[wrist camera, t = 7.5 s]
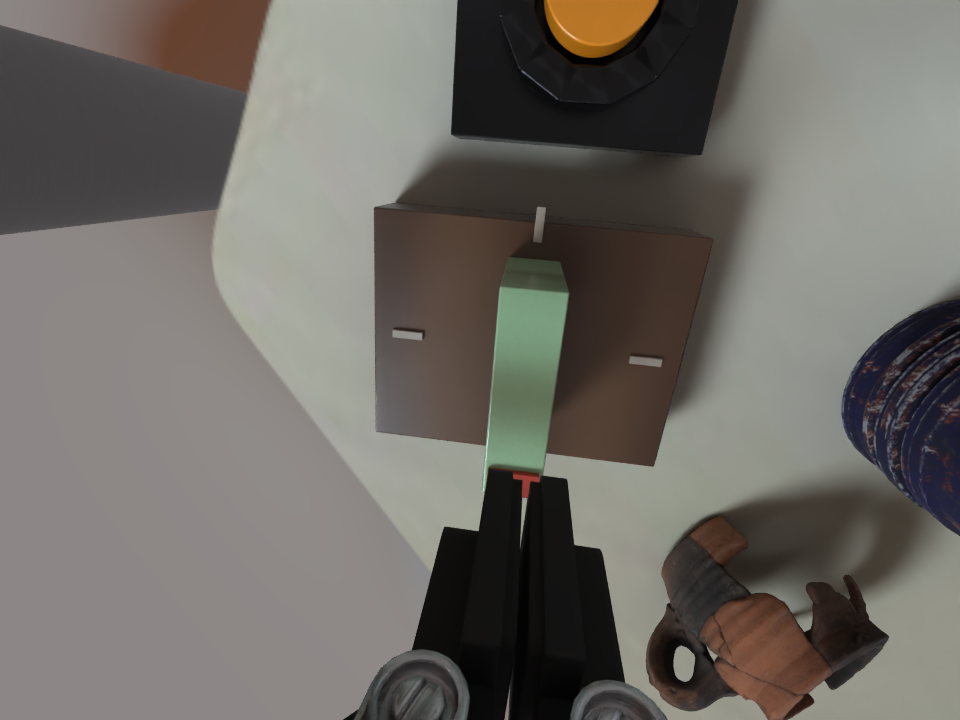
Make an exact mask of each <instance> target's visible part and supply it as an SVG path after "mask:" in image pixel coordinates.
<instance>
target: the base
mask: <svg viewBox="0 0 960 720" xmlns="http://www.w3.org/2000/svg"><path fill="white" fill-rule="evenodd" d="M545 213H546V207H537V212H536V216H535V215H524V214H513V213H502V212H491V211H480V210H469V209H458V208H447V207H436V206H425V205H414V204H403V203H391V204H386V205H382V206H377V207H375V208H374V262H375V385H376V432H383V433H390V434H398V435H406V436H414V437H422V438H430V439H438V440H446V441H454V442H462V443H470V444H478V445H486V438H487V427H488V415H489V404H490V392H491V381H492V369H493V358H494V346H495V335H496V323H497V312H498V300H499V289H500V285H501V281H502V278H503V275H504V271H505V268H506V264H507V261H508V258H509V257H515V258H527V259H538V260H549V261H559V262H560V263H561V267H562V270H563V273H564V277H565V280H566V284H567V287H568V291H569V301H568V308H567V314H566V321H565V328H564V335H563V342H562V349H561V356H560V363H559V369H558V376H557V383H556V390H555V397H554V404H553V411H552V417H551V424H550V431H549V438H548V445H547V452H546V453H549V454H557V455H565V456H573V457H581V458H589V459H596V460H604V461H612V462H620V463H628V464H636V465H644V466H652V467H653V466H654V464H655V461H656V457H657V453H658V449H659V445H660V442H661V438H662V434H663V430H664V426H665V423H666V419H667V415H668V411H669V407H670V404H671V400H672V396H673V392H674V388H675V385H676V381H677V377H678V373H679V369H680V366H681V362H682V358H683V354H684V350H685V347H686V343H687V339H688V335H689V331H690V328H691V324H692V320H693V316H694V312H695V309H696V305H697V301H698V297H699V293H700V290H701V286H702V282H703V278H704V274H705V271H706V267H707V263H708V259H709V255H710V252H711V248H712V244H713V240H714V239H713V238H712V237H709V236H706V235H703V234H701V233H698V232H695V231H693V230H689V229H678V228H667V227H656V226H645V225H634V224H623V223H612V222H601V221H590V220H579V219H568V218H557V217H546V216H545Z"/></svg>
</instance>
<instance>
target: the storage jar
mask: <svg viewBox="0 0 960 720" xmlns="http://www.w3.org/2000/svg"><path fill="white" fill-rule="evenodd" d="M842 420H843V425H844V429H845V431H846V433H847V436H848V438H849V440H850V441H851V442H852V444H853V445H854V447H855V448H856V449H857V450H858V451H859V452H860V453H861V454H862V455H863V456H864V457H866V458H867V459H868V460H869V461H870V462H871V463H873V464H875V465H876V466H877V467H878V468H879V469H880V470H881V471H882V472H883V473H884V474H885V475H886V477H887V478H888V480H889V481H890V482H891V483H893V484H894V485H895V486H896V487H897V488H898V489H899V490H900V491H901V492H902V493H904V494H905V495H906V496H907V497H908V498H909V499H911V500H912V501H913V502H914V503H915V504H917V505H918V506H920V507H922V508H923V509H925V510H926V511H928V512H929V513H930V514H932V515H933V516H934V517H935V518H936V519H937V520H939V521H940V522H941V523H942V524H943V525H944V526H945V527H947V528H948V529H950V530H951V531H953V532H954V533H956V534H958V535H959V536H960V299H958V300H953V301H949V302H946V303H942V304H939V305H936V306H933V307H930V308H928V309H926V310H923V311H921V312H919V313H917V314H914V315H912V316H911V317H909V318H907V319H906V320H904V321H902V322H900V323H899V324H897V325H896V326H894V327H893V328H892V329H890V330H889V331H888V332H886V333H885V334H884V335H882V336H881V337H880V338H879V339H878V340H877V341H876V342H875V343H874V344H873V345H872V346H871V347H870V348H869V349H868V350H867V351H866V353H865V354H864V355H863V356H862V358H861V359H860V360H859V361H858V363H857V365H856V366H855V368H854V370H853V371H852V373H851V375H850V377H849V380H848V382H847V384H846V387H845V390H844V395H843V399H842Z"/></svg>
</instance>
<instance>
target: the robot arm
mask: <svg viewBox="0 0 960 720" xmlns="http://www.w3.org/2000/svg"><path fill="white" fill-rule="evenodd" d="M522 486H523V480H519V479H513V472H511V471H504V470H497V469H488V475H487V482H486V488H485V495H484V501H483V507H482V514H481V520H480V526H479V531H472V530H465V529H458V528H451V527H444V529H443V532H442V536H441V540H440V543H439V547H438V551H437V555H436V559H435V563H434V567H433V571H432V574H431V578H430V582H429V586H428V590H427V594H426V598H425V602H424V606H423V609H422V613H421V617H420V621H419V625H418V629H417V633H416V637H415V641H414V644H413V648H412V651H407V652H405V653H403V654H400V655H398V656H396V657H394V658H392V659H391V660H390V661H389V662H388V663H387V664H385V665H384V666H383V667H382V668H381V669H380V670H379V672H378V674H377V675H376V676H375V678H374V680H373V681H372V683H371V685H370V687H369V689H368V691H367V693H366V695H365V697H364V699H363V702H362V703H361V706H360V708H359V709H358V710H357V711H355V712H354V713H352V714H351V715H349V716H348V717H346V718H345V719H343V720H504V718H505V712H506V706H507V699H508V693H509V687H510V697H509V718H508V720H667V718H666V716H665V715H664V713H663V712H662V711H661V710H660V709H659V707H658V706H657V705H656V704H655V702H654V701H653V700H652V699H650V698H649V697H648V696H646V695H645V694H644V693H643V692H641V691H640V690H639V689H637V688H635V687H633V686H631V685H628V684H626V683H625V679H624V673H623V667H622V662H621V656H620V650H619V645H618V639H617V633H616V628H615V622H614V616H613V611H612V605H611V599H610V594H609V588H608V582H607V577H606V571H605V565H604V560H603V555H602V552H601V550H600V549H597V548H590V547H583V546H576V545H574V539H573V529H572V520H571V510H570V501H569V491H568V482H567V479H564V478H556V477H549V476H541V477H540V482H534V481H531V482H530V486H529V493H528V500H527V506H526V513H525V520H524V526H523V533H522V540H521V547H520V535H521V510H522Z"/></svg>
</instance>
